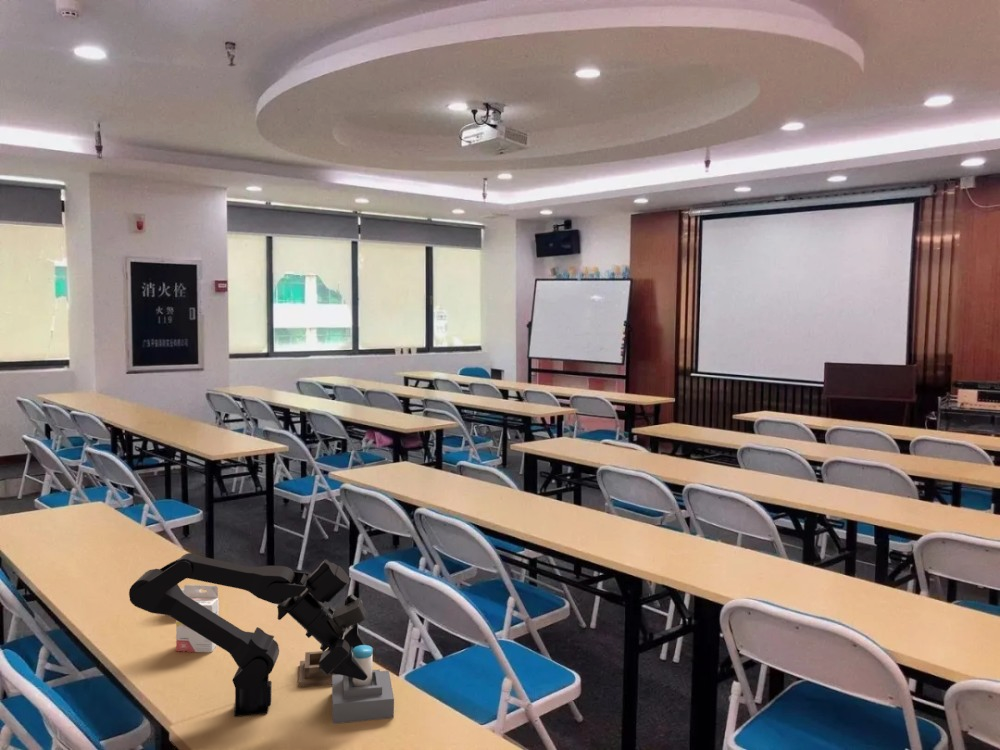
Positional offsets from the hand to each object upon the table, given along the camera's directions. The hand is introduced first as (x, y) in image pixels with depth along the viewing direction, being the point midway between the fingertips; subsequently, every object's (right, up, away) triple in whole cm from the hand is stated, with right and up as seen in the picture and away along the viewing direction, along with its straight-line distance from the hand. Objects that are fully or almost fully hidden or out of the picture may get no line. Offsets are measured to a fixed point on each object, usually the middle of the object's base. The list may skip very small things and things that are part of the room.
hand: (367, 667), depth 154 cm
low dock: (-13, -7, +13) cm, 19 cm away
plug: (-1, -4, 0) cm, 4 cm away
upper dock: (-1, -8, +1) cm, 8 cm away
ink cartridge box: (-45, -5, +24) cm, 51 cm away
